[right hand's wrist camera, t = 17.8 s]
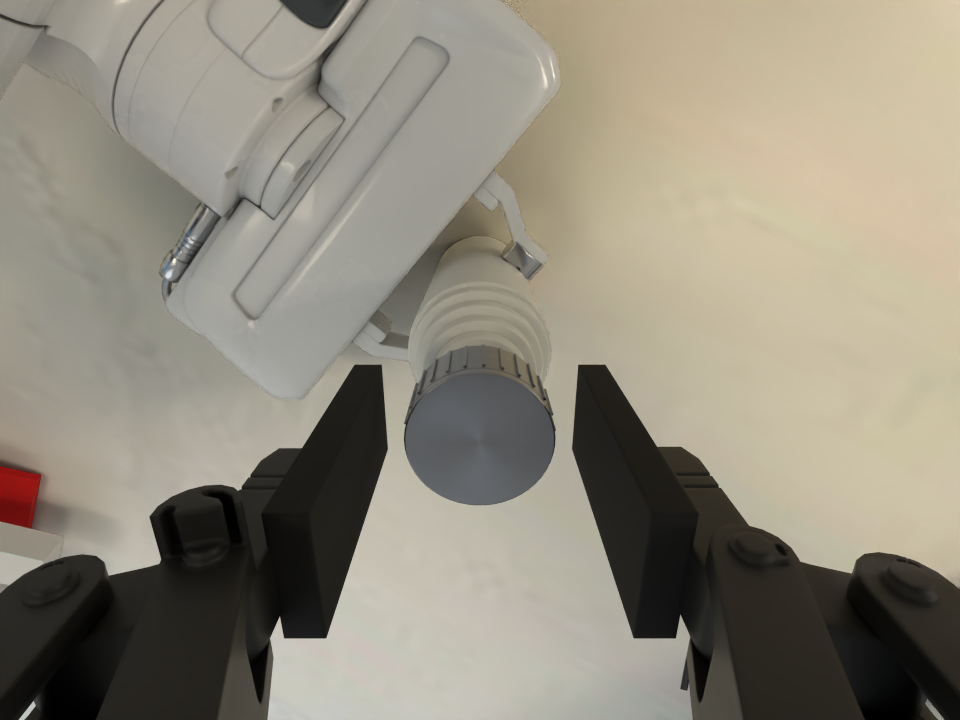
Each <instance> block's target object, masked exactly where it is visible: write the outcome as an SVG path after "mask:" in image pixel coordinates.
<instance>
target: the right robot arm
mask: <svg viewBox="0 0 960 720" xmlns="http://www.w3.org/2000/svg"><path fill="white" fill-rule="evenodd" d="M387 450H388V445H387V431H386V418H385V405H384V391H383V378H382V365H354V367H353V368H352V370H351V371H350V373H349V375H348V376H347V378H346V379H345V381H344V383H343V384H342V386H341V387H340V389H339V391H338V392H337V394H336V395H335V397H334V398H333V400H332V402H331V403H330V405H329V406H328V408H327V410H326V411H325V413H324V414H323V416H322V418H321V419H320V421H319V422H318V424H317V425H316V427H315V429H314V430H313V432H312V433H311V435H310V437H309V438H308V440H307V441H306V443H305V444H304V446H303V448H279V449H278V450H276V451H275V452H273V453H272V454H270V455H269V456H267V457H266V458H264V459H263V460H261V462H260V463H259V464H258V466H257V467H256V468H255V470H254V471H253V472H252V474H251V477H250V478H248V479H247V480H246V482H245V483H244V484H243V486H242V490H239V491H237V490H236V489H235V488H233V487H229V486H224V485H208V486H202V487H198V488H194V489H189V490H187V491H184V492H182V493H180V494H177V495H175V496H173V497H171V498H169V499H168V500H166V501H165V502H164V503H162V504H161V505H159V506H158V507H157V508H156V509H155V511H154V512H153V513H152V514H151V516H150V520H151V524H152V528H153V531H154V535H155V538H156V542H157V545H158V549H159V552H160V556H161V562H160V564H158V565H154V566H151V567H147V568H142V569H138V570H133V571H129V572H124V573H120V574H115V575H110V576H109V575H108V572H107V569H106V566H105V563H104V562H103V561H102V560H101V559H99V558H98V557H97V556H91V555H83V554H82V555H75V556H69V557H63V558H60V559H56V560H54V561H50V562H48V563H45V564H43V565H41V566H39V567H37V568H35V569H33V570H31V571H29V572H27V573H25V574H23V575H22V576H21V577H20V578H18V579H17V580H16V581H14V582H13V583H12V584H10V585H9V586H8V587H6V588H5V589H4V590H3V591H2V592H1V593H0V720H19V718H20V717H21V716H22V715H23V713H24V712H25V711H26V710H27V708H28V707H29V706H30V705H31V703H32V702H33V701H34V702H35V705H36V706H35V708H34V709H33V710H32V712H31V713H30V714H29V715H28V717H27V718H26V719H25V720H267V717H268V707H269V697H270V687H271V677H272V667H273V652H272V646H271V641H270V637H271V635H272V632H273V630H274V628H275V626H276V623H277V621H278V619H279V617H280V618H281V624H282V629H283V634H284V638H326V637H327V634H328V631H329V628H330V625H331V622H332V619H333V616H334V613H335V610H336V607H337V604H338V600H339V597H340V594H341V591H342V588H343V585H344V582H345V579H346V576H347V573H348V570H349V567H350V564H351V561H352V557H353V554H354V551H355V548H356V545H357V542H358V539H359V536H360V533H361V530H362V527H363V524H364V521H365V518H366V514H367V511H368V508H369V505H370V502H371V499H372V496H373V493H374V490H375V487H376V484H377V481H378V478H379V475H380V471H381V468H382V465H383V462H384V459H385V456H386V453H387ZM572 450H573V453H574V456H575V459H576V462H577V465H578V468H579V471H580V475H581V478H582V481H583V484H584V487H585V490H586V493H587V496H588V499H589V502H590V505H591V508H592V511H593V514H594V518H595V521H596V524H597V527H598V530H599V533H600V536H601V539H602V542H603V545H604V548H605V551H606V554H607V557H608V561H609V564H610V567H611V570H612V573H613V576H614V579H615V582H616V585H617V588H618V591H619V594H620V597H621V600H622V604H623V607H624V610H625V613H626V616H627V619H628V622H629V625H630V628H631V631H632V634H633V637H634V638H676V634H677V629H678V624H679V618H680V614H681V616H682V619H683V621H684V623H685V625H686V628H687V630H688V632H689V634H690V641H689V646H688V651H687V656H686V661H685V666H684V671H683V676H682V682H681V689H683V690H687V689H688V684H689V686H690V696H691V706H692V716H693V720H938V719H937V718H936V717H935V716H934V715H933V714H932V712H931V711H930V710H929V709H928V707H927V706H926V705H925V702H926V700H927V698H928V700H929V701H930V702H931V703H932V705H933V706H934V707H935V708H936V710H937V711H938V712H939V713H940V715H941V716H942V717H943V718H944V720H960V590H959V589H958V588H957V587H956V586H955V585H954V584H952V583H951V582H950V581H948V580H947V579H946V578H944V577H943V576H942V575H940V574H939V573H938V572H936V571H934V570H932V569H930V568H928V567H926V566H924V565H922V564H921V563H919V562H916V561H914V560H911V559H907V558H905V557H902V556H898V555H893V554H887V553H880V552H877V553H869V554H864V555H863V556H861V557H860V558H859V559H857V560H856V563H855V566H854V569H853V572H852V574H850V573H846V572H841V571H837V570H832V569H828V568H823V567H818V566H814V565H810V564H806V563H803V562H800V561H799V558H798V557H797V556H796V554H795V553H794V551H793V550H792V548H791V547H790V546H788V545H787V544H786V543H785V542H783V541H782V540H781V539H780V538H778V537H776V536H774V535H772V534H770V533H768V532H766V531H764V530H762V529H758V528H755V527H751V526H749V525H748V524H747V522H746V521H745V520H744V518H743V517H742V516H741V514H740V513H739V512H738V510H737V509H736V508H735V506H734V505H733V504H732V502H731V501H730V500H729V498H728V497H727V496H726V494H725V493H724V492H723V490H722V489H721V488H719V487H718V484H717V482H716V481H715V480H714V478H713V477H712V476H710V473H709V472H708V470H707V469H706V468H705V466H704V465H703V464H702V462H701V461H700V460H699V459H698V458H697V457H695V456H694V455H692V454H691V453H689V452H688V451H686V450H685V449H683V448H682V447H657V446H656V444H655V443H654V441H653V440H652V438H651V437H650V435H649V433H648V432H647V430H646V429H645V427H644V425H643V424H642V422H641V421H640V419H639V418H638V416H637V414H636V413H635V411H634V410H633V408H632V406H631V405H630V403H629V402H628V400H627V398H626V397H625V395H624V394H623V392H622V391H621V389H620V387H619V386H618V384H617V383H616V381H615V379H614V378H613V376H612V375H611V373H610V371H609V370H608V368H607V367H606V365H578V378H577V391H576V405H575V418H574V431H573V445H572Z"/></svg>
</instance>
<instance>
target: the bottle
mask: <svg viewBox="0 0 960 720" xmlns="http://www.w3.org/2000/svg"><path fill="white" fill-rule="evenodd" d="M506 246H507V245H506V244H504V243H503V242H501V241H499V240H497V239H494V238H491V237H486V236H473V237H468V238H465V239H462V240H460V241H458V242H456V243H455V244H454V245H452V246H451V247H450V248H449V249H448V250H447V251H446V252H445V253H444V254H443V256H442V258H441V259H440V261H439V263H438V266H437V268H436V270H435V273H434V275H433V278H432V280H431V282H430V285H429V287H428V289H427V292H426V294H425V297H424V299H423V301H422V304H421V306H420V308H419V311H418V313H417V315H416V318H415V320H414V323H413V325H412V328H411V331H410V334H409V341H408V356H409V362H410V366H411V370H412V374H413V377H414V379H415V382H416V383H419V381H420V379H421V377H422V373H423V371H424V370H427V369H428V368H429V367H430V366H431V365H432V363H434V360H435V359H436V358H437V359H439V358H440V357H442V356H443V355H445V354H447V353H448V352H449V351H450V350H451V351H454V350H456V349H460V348H463V347H465V346H467V345H468V347H469V346H482V345H485V346H491V347H496V348H499V347H501V348H502V349H503V350H506V351H509V352H511V353H512V354H515V353H516V354H517V355H518V357H519V358H521V359H522V360H524V361H525V362H526V363H527V364H528V363H529V364H530V365H531V368H532V369H533V371H534V372H535V373H536V375H537V376H538V375H539V376H540V378H541V381H542V385H543V383H544V380H545V378H546V376H547V372H548V368H549V364H550V360H551V338H550V333H549V330H548V326H547V324H546V321H545V319H544V317H543V314H542V312H541V310H540V307H539V305H538V303H537V300H536V298H535V295H534V293H533V291H532V288H531V286H530V284H529V281H528V279H527V278H526V277H524V276H523V274H522V273H521V272H520V270H519V267H514V266H513V265H511V264H510V263H509V262H508V261H507V260H505V259H504V258H503V254H502V251H503V249H504V248H505V247H506Z"/></svg>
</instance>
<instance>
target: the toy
mask: <svg viewBox="0 0 960 720" xmlns="http://www.w3.org/2000/svg"><path fill="white" fill-rule="evenodd" d="M40 478H41V475H37V474H33V473H28V472H24V471H19V470H15V469H10V468H6V467H1V466H0V593H1V592H2V591H3V590H4V589H5V588H6V587H8V586H9V585H10V584H12V583H13V582H14V581H16V580H17V579H18V578H20V577H21V576H22V575H23V574H25V573H27V572H29V571H31V570H33V569H35V568H37V567H39V566H41V565H43V564H45V563H48V562H50V561H54V560H56V559H59V555H60V551H61V547H62V543H63V539H64V536H60V535H56V534H51V533H47V532H43V531H39V530H34V529H31V526H32V521H33V515H34V510H35V505H36V499H37V494H38V489H39V483H40Z"/></svg>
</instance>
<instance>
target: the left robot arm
mask: <svg viewBox="0 0 960 720" xmlns="http://www.w3.org/2000/svg"><path fill="white" fill-rule="evenodd" d="M23 62H24V63H25V64H27V65H28V66H30V67H31V68H33V69H34V70H36V71H37V72H39V73H41V74H43V75H45V76H47V77H49V78H51V79H53V80H55V81H58V82H60V83H62V84H64V85H66V86H68V87H70V88H72V89H73V90H75V91H76V92H78V93H79V94H80V95H82V96H83V97H84V98H85V99H87V100H88V101H89V102H90V103H91V104H92V105H93V107H94V108H95V109H96V110H97V111H98V113H99V114H100V115H101V117H102V118H103V119H104V121H105V122H106V123H107V124H108V126H109V127H110V128H111V129H112V130H113V131H114V132H115V133H116V134H117V135H118V136H119V137H120V138H121V139H122V140H123V141H125V142H126V143H127V144H129V145H130V146H132V147H133V148H134V149H135V150H137V151H138V152H139V153H140V154H142V155H143V156H144V157H145V158H147V159H148V160H149V161H151V162H152V163H153V164H154V165H156V166H157V167H158V168H160V169H161V170H162V171H163V172H165V173H166V174H167V175H168V176H170V177H171V178H172V179H174V180H175V181H176V182H178V183H179V184H180V185H181V186H182V187H184V188H185V189H186V190H187V191H189V192H190V193H191V194H193V195H194V196H195V197H196V198H198V199H199V200H200V201H201V202H200V204H199V205H198V207H197V208H196V210H195V212H194V213H193V215H192V216H191V218H190V219H189V221H188V223H187V225H186V226H185V228H184V230H183V233H182V235H181V237H180V240H179V241H178V242H177V244H176V246H175V247H174V249H172V250H170V251H169V252H168V254H167V255H166V256H165V258H164V260H163V262H162V264H161V266H160V270H159V274H160V276H161V277H162V278H163V281H162V295H163V298H164V301H165V307H166V308H167V310H168V311H169V312H170V313H171V314H172V315H173V316H174V317H175V318H176V319H178V320H179V321H180V322H182V323H183V324H185V325H186V326H187V327H189V328H190V329H192V330H193V331H194V332H196V333H197V334H199V335H201V336H203V337H204V338H205V339H206V340H207V341H208V342H209V343H210V344H211V345H212V346H213V347H214V348H215V349H216V350H217V351H218V352H220V353H221V354H222V355H223V356H224V357H225V358H226V359H227V360H228V361H229V362H230V363H232V364H233V365H234V366H235V367H236V368H237V369H238V370H239V371H241V372H242V373H243V374H244V375H245V376H247V377H248V378H249V379H250V380H251V381H252V382H254V383H255V384H256V385H257V386H259V387H260V388H261V389H263V390H264V391H265V392H267V393H268V394H269V395H271V396H273V397H274V398H277V399H284V400H302V399H303V398H305V396H306V395H307V394H308V393H309V392H310V390H311V389H312V388H313V387H314V386H315V384H316V383H317V382H318V381H319V380H320V378H321V377H322V376H323V375H324V373H325V372H326V371H327V370H328V369H329V367H330V366H331V365H332V364H333V363H334V361H335V360H336V359H337V358H338V357H339V355H340V354H341V353H342V352H343V351H344V349H345V348H346V347H347V346H348V345H349V343H350V342H351V341H352V342H354V343H355V344H356V345H357V346H359V347H360V348H361V349H363V350H364V351H365V352H367V353H368V354H369V355H371V356H376V357H383V358H389V359H395V360H402V361H408V362H409V356H408V341H409V336H405V335H401V334H396V333H392V332H389V330H390V329H391V327H392V325H393V323H392V321H391V320H390V319H388V318H387V317H386V316H385V315H383V314H382V313H381V312H380V311H378V310H377V309H378V308H379V307H380V306H381V305H382V303H383V302H384V301H385V300H386V299H387V297H388V296H389V295H390V294H391V293H392V291H393V290H394V289H395V288H396V287H397V285H398V284H399V283H400V282H401V280H402V279H403V278H404V277H405V276H406V274H407V273H408V272H409V271H410V270H411V268H412V267H413V266H414V265H415V264H416V262H417V261H418V260H419V259H420V258H421V256H422V255H423V254H424V253H425V251H426V250H427V249H428V248H429V247H430V245H431V244H432V243H433V242H434V241H435V239H436V238H437V237H438V236H439V235H440V233H441V232H442V231H443V230H444V229H445V227H446V226H447V225H448V224H449V222H450V221H451V220H452V219H453V218H454V216H455V215H456V214H457V213H458V212H459V210H460V209H461V208H462V207H463V206H464V204H465V203H466V202H467V201H468V200H469V198H470V197H471V196H472V195H473V196H474V197H475V198H476V199H477V200H478V201H479V202H481V203H482V204H483V205H484V206H485V207H486V208H487V209H488V210H490V211H493V210H494V209H495V208H496V207H497V206H498V205H499V201H500V203H501V206H502V209H503V213H504V216H505V219H506V222H507V225H508V228H509V232H510V235H511V238H512V240H511V241H510V242H509V244H508V245H507V246H506V247H505V248H504V249H503V251H502V254H503V258H504V259H505V260H507V261H508V262H509V263H510V264H511V265H513V266H514V267H519V270H520V272H521V273H522V274H523V276H524V277H526V278H527V279H528V280H531V279H532V278H533V277H534V276H535V275H536V274H537V273H538V272H539V271H540V269H541V268H542V267H543V266H544V265H545V264H546V263H547V262H548V261H549V260H550V259H551V257H550V256H549V255H548V254H547V252H546V251H545V250H544V249H543V248H541V247H540V246H539V245H538V244H537V243H536V242H535V241H534V240H533V239H532V238H531V237H530V236H528V235H527V234H526V233H525V231H526V230H525V227H524V223H523V220H522V217H521V213H520V210H519V207H518V204H517V200H516V197H515V194H514V190H513V188H512V187H511V186H510V185H509V184H508V183H506V182H505V181H504V180H503V179H502V178H501V177H500V176H499V175H498V174H497V173H496V172H495V171H494V170H493V169H494V168H495V167H496V166H497V164H498V163H499V162H500V161H501V160H502V158H503V157H504V156H505V155H506V154H507V152H508V151H509V150H510V149H511V148H512V146H513V145H514V144H515V143H516V142H517V140H518V139H519V138H520V137H521V135H522V134H523V133H524V132H525V131H526V129H527V128H528V127H529V126H530V125H531V123H532V122H533V121H534V120H535V119H536V117H537V116H538V115H539V114H540V112H541V111H542V110H543V109H544V108H545V106H546V105H547V104H548V103H549V102H550V100H551V99H552V98H553V97H554V96H555V94H556V93H557V92H558V91H559V89H560V86H561V76H560V67H559V59H558V56H557V54H556V52H555V51H554V49H553V48H552V47H551V46H550V44H549V43H548V42H547V41H546V40H545V39H544V38H543V37H542V36H541V35H540V34H539V33H538V32H537V31H536V30H535V29H534V28H533V27H532V26H531V25H530V24H529V23H527V22H526V21H525V20H524V19H523V18H522V17H521V16H520V15H519V14H518V13H516V12H515V11H514V10H513V9H512V8H511V7H510V6H508V5H507V4H506V3H505V2H504V1H502V0H0V100H1V98H2V97H3V95H4V93H5V92H6V90H7V88H8V87H9V85H10V83H11V81H12V80H13V78H14V76H15V75H16V73H17V71H18V70H19V68H20V66H21V65H22V63H23ZM172 283H177V285H176V286H175V288H174V289H173V291H172V290H171V287H172Z"/></svg>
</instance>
